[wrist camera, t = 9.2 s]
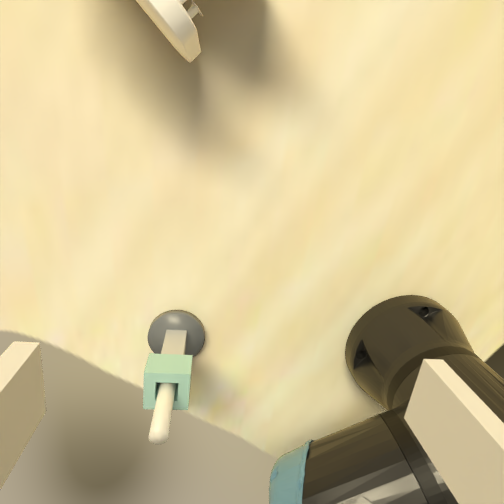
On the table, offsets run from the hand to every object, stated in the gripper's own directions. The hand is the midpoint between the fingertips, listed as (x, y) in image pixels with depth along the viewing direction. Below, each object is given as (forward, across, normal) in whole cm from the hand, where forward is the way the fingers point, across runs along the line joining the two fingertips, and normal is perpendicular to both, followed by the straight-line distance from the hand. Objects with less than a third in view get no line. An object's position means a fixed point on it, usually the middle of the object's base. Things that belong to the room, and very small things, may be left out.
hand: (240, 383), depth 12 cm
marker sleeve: (+22, +4, +17) cm, 28 cm away
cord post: (+29, +4, +17) cm, 34 cm away
